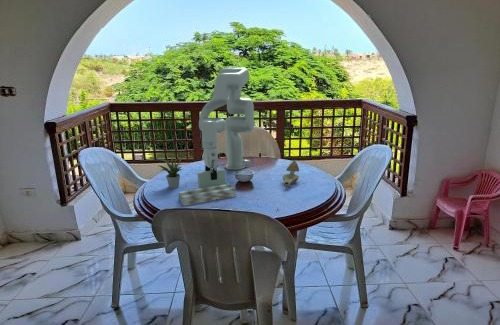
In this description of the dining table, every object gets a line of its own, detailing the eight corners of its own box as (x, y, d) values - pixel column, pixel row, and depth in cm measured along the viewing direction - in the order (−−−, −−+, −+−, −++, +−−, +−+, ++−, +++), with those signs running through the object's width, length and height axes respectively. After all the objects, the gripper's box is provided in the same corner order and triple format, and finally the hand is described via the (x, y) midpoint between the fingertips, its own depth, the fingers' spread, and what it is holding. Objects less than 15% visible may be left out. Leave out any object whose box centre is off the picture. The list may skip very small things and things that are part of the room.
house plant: (179, 179, 189) (177, 151, 185) (194, 185, 180) (192, 155, 175) (156, 186, 180) (153, 156, 175) (170, 192, 170) (168, 161, 166)
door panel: (224, 184, 180) (223, 168, 178) (225, 186, 178) (224, 169, 176) (198, 188, 175) (197, 172, 173) (199, 190, 173) (198, 173, 171)
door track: (229, 189, 173) (229, 183, 172) (236, 196, 164) (236, 189, 163) (178, 197, 163) (178, 191, 162) (183, 205, 155) (183, 198, 154)
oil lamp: (301, 177, 190) (302, 160, 187) (294, 190, 170) (294, 171, 168) (286, 176, 192) (286, 159, 190) (277, 189, 173) (277, 170, 170)
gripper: (222, 147, 164) (223, 180, 168) (211, 141, 179) (213, 172, 184) (207, 148, 161) (209, 182, 165) (198, 142, 176) (199, 173, 181)
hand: (211, 177), depth 175 cm, fingers open, 9 cm apart
